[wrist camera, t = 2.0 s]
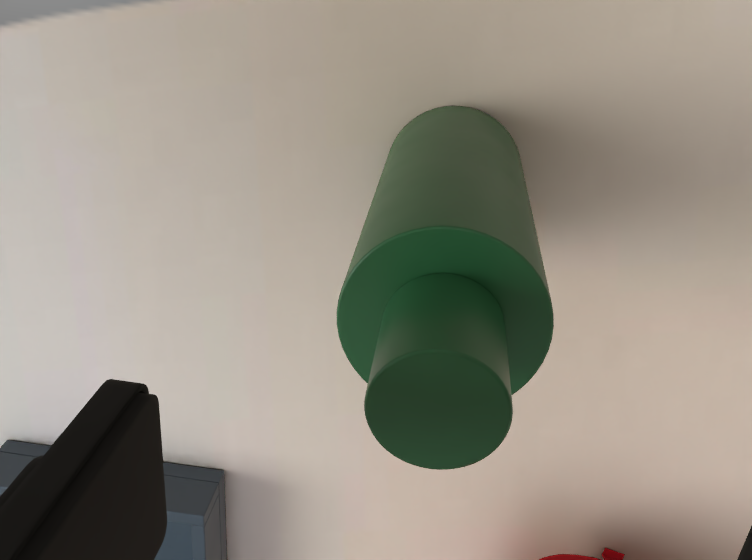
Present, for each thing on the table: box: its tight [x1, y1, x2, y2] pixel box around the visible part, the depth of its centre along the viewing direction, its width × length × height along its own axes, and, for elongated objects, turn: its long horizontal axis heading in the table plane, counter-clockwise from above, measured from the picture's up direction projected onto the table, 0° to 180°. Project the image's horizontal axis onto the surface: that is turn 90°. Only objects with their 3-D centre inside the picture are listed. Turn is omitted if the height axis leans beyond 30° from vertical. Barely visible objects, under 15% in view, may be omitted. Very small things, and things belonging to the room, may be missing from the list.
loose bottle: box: [337, 106, 554, 469], centre depth 18 cm, size 5×5×14 cm
